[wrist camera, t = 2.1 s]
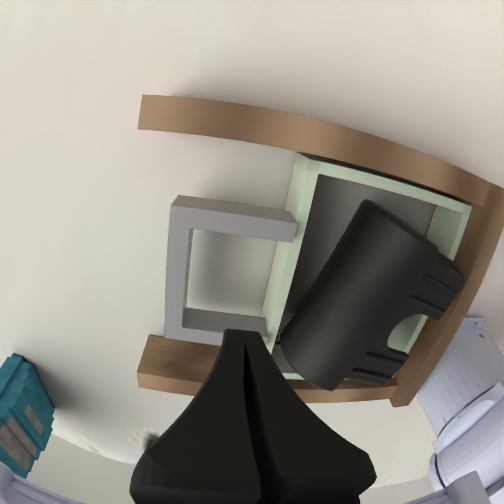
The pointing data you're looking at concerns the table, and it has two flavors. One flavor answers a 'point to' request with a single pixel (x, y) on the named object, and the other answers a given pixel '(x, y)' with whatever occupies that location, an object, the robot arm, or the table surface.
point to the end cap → (367, 301)
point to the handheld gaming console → (23, 415)
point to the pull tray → (285, 251)
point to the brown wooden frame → (351, 151)
